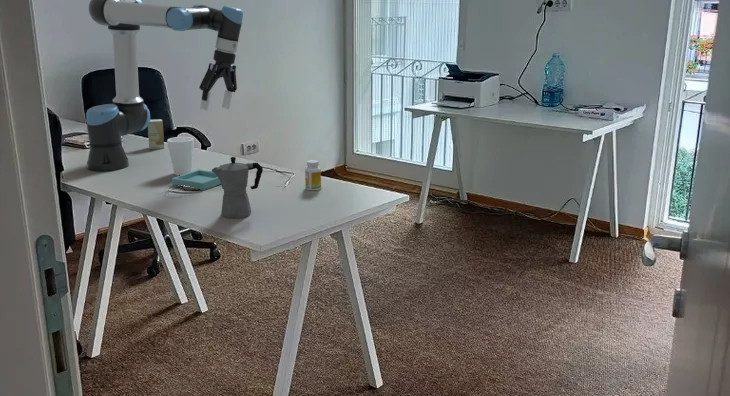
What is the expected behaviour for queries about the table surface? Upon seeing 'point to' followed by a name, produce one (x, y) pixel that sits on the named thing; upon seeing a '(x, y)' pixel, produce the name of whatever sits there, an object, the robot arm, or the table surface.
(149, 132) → the skincare box
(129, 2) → the robot arm
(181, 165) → the foam cup
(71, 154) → the table surface
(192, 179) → the tray
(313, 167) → the supplement bottle
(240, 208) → the coffeepot
